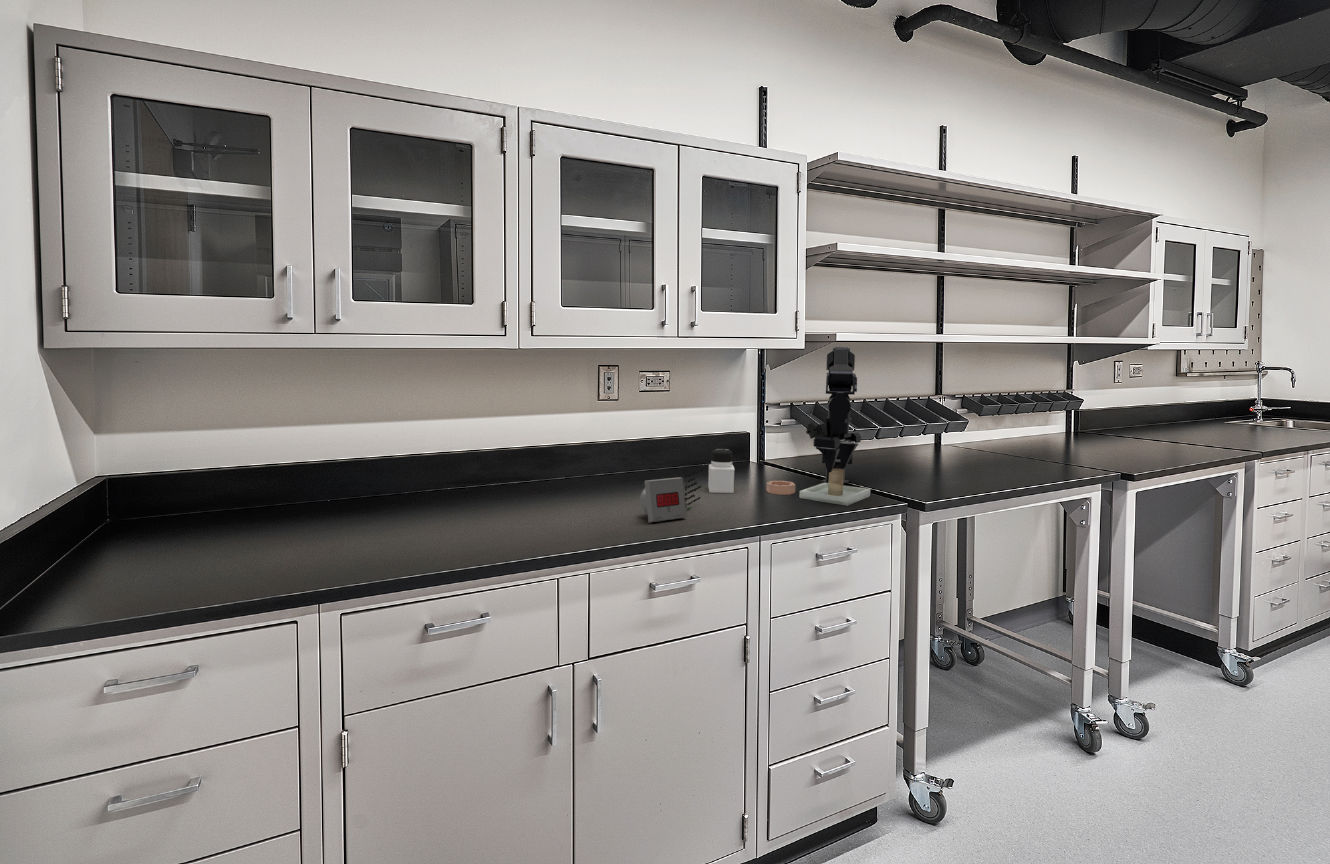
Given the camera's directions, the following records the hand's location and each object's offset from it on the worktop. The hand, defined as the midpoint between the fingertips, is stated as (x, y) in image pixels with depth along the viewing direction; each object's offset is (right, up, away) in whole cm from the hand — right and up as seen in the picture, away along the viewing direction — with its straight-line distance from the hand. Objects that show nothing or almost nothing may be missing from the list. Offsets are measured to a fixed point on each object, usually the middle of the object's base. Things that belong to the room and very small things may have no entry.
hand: (836, 470), depth 195 cm
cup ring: (-14, -7, +7) cm, 17 cm away
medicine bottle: (-32, -7, +8) cm, 33 cm away
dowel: (0, -7, +1) cm, 7 cm away
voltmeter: (-45, -10, -20) cm, 50 cm away
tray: (0, -8, +1) cm, 8 cm away
